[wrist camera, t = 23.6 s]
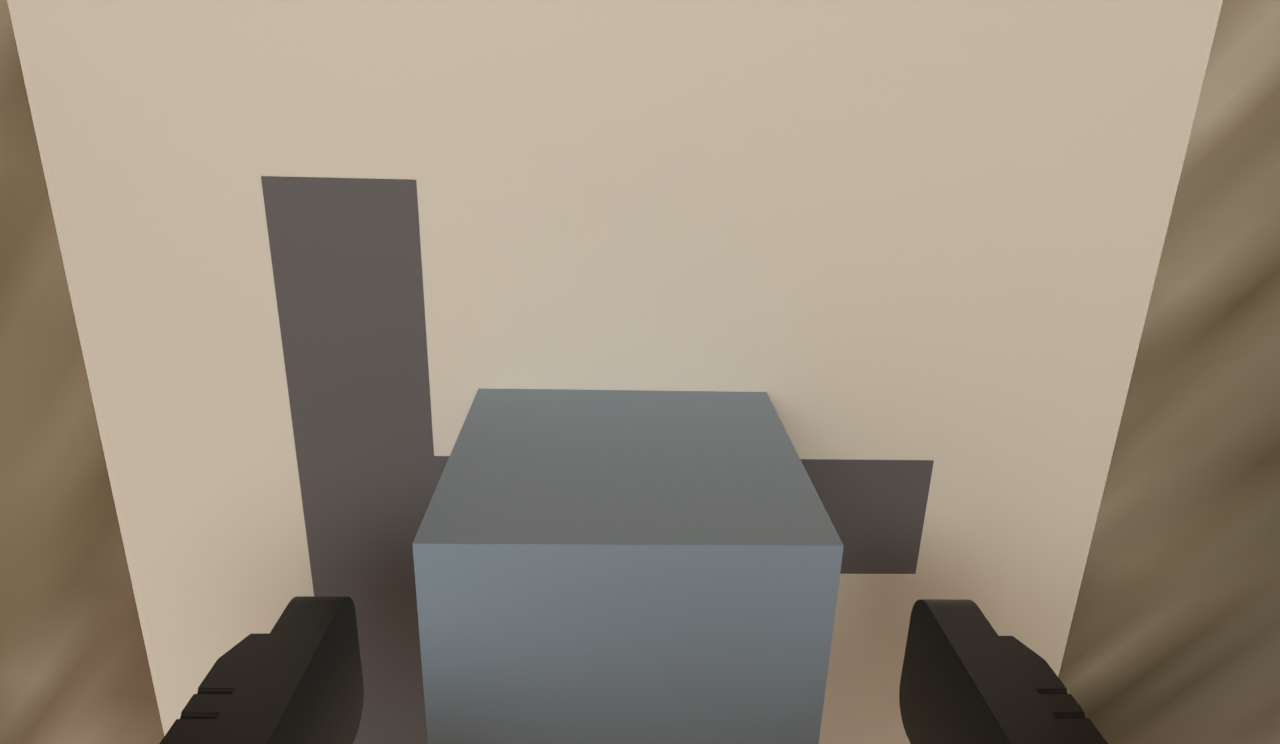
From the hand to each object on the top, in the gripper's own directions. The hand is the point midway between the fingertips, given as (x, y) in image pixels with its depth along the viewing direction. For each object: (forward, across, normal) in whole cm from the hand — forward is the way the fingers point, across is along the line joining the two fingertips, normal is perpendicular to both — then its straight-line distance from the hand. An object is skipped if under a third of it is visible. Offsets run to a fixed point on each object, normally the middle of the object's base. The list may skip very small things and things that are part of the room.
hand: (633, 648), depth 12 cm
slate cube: (+4, 0, 0) cm, 4 cm away
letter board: (+4, 0, 0) cm, 4 cm away
